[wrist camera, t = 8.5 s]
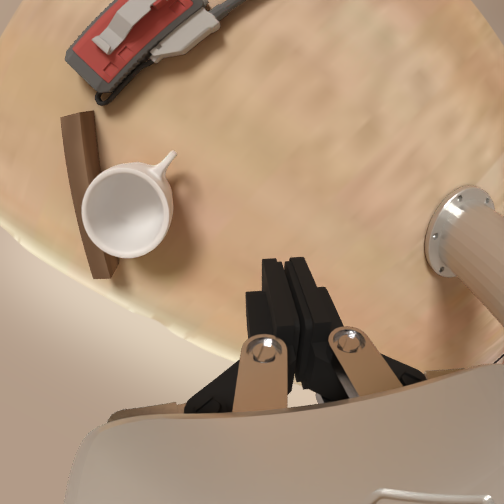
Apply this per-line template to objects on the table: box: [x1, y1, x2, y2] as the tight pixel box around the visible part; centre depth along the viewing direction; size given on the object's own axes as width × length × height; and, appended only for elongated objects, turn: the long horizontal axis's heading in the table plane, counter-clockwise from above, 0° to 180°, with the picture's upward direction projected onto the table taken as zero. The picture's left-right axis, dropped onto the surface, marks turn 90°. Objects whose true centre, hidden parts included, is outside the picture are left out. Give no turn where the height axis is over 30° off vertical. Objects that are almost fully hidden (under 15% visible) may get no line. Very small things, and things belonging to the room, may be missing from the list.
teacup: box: [82, 150, 177, 258], centre depth 24 cm, size 10×8×5 cm
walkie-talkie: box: [65, 0, 246, 106], centre depth 17 cm, size 9×4×20 cm
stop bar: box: [61, 110, 119, 279], centre depth 25 cm, size 2×16×3 cm, turn 1°
